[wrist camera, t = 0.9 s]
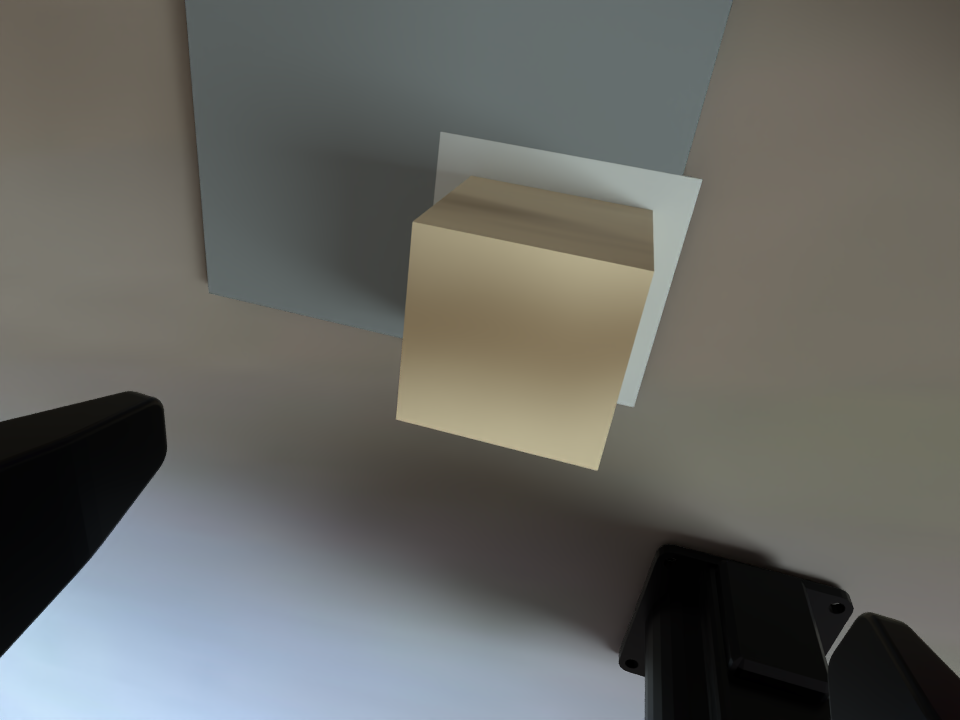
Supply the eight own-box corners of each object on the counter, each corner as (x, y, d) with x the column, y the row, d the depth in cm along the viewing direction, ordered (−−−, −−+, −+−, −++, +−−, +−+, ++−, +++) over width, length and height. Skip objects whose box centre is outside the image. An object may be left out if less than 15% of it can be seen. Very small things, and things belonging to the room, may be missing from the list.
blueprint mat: (634, 397, 20) (633, 407, 19) (220, 300, 22) (209, 306, 21) (898, -487, 11) (911, -513, 10) (161, -511, 13) (140, -534, 13)
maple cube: (609, 372, 19) (597, 470, 15) (451, 335, 20) (396, 419, 15) (652, 210, 17) (654, 271, 12) (471, 175, 17) (412, 222, 13)
